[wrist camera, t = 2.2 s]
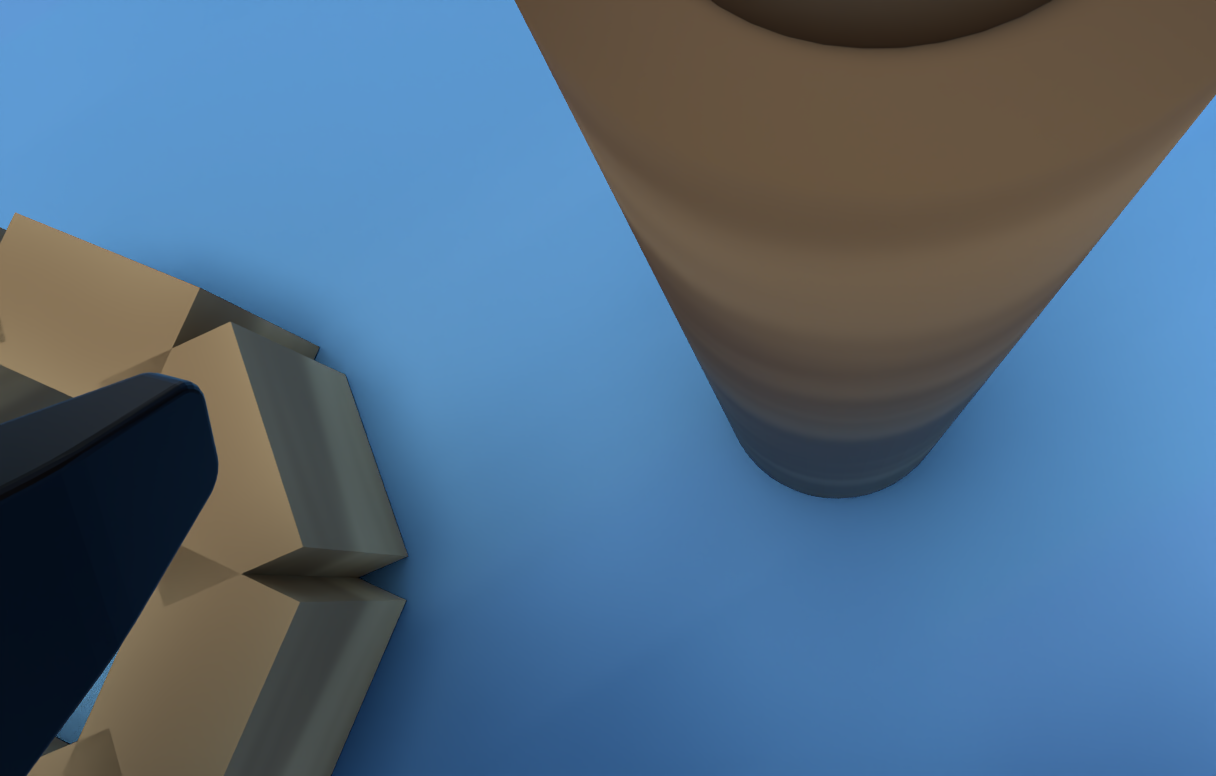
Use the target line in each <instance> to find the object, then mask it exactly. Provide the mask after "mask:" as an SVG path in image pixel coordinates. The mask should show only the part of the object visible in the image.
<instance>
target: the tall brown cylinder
mask: <svg viewBox="0 0 1216 776" xmlns="http://www.w3.org/2000/svg"><path fill="white" fill-rule="evenodd" d="M515 2H516V4H517V6H518V8H519V10H520V12H521V14H522V16H523V18H524V20H525V22H526V24H527V25H528V27H529V29H530V31H531V33H532V35H533V37H534V39H535V41H536V43H537V45H538V47H539V49H540V51H541V53H542V55H543V57H544V59H545V61H546V63H547V65H548V67H549V69H550V71H551V73H552V75H553V77H554V79H555V80H556V82H557V84H558V86H559V88H560V90H561V92H562V94H563V96H564V98H565V100H566V102H567V104H568V106H569V108H570V110H571V112H572V114H573V116H574V118H575V120H576V122H577V124H578V126H579V128H580V130H581V132H582V134H583V136H584V137H585V139H586V141H587V143H588V145H589V147H590V149H591V151H592V153H593V155H594V157H595V159H596V161H597V163H598V165H599V167H600V169H601V171H602V173H603V175H604V177H605V179H606V181H607V183H608V185H609V187H610V189H611V191H612V192H613V194H614V196H615V198H616V200H617V202H618V204H619V206H620V208H621V210H622V212H623V214H624V216H625V218H626V220H627V222H628V224H629V226H630V228H631V230H632V232H633V234H634V236H635V238H636V240H637V242H638V244H639V246H640V248H641V249H642V251H643V253H644V255H645V257H646V259H647V261H648V263H649V265H650V267H651V269H652V271H653V273H654V275H655V277H656V279H657V281H658V283H659V285H660V287H661V289H662V291H663V293H664V295H665V297H666V299H667V301H668V303H669V304H670V306H671V308H672V310H673V312H674V314H675V316H676V318H677V320H678V322H679V324H680V326H681V328H682V330H683V332H684V334H685V336H686V338H687V340H688V342H689V344H690V346H691V348H692V350H693V352H694V354H695V356H696V358H697V359H698V361H699V363H700V365H701V367H702V369H703V371H704V373H705V375H706V377H707V379H708V381H709V383H710V385H711V387H712V389H713V391H714V393H715V395H716V397H717V399H718V401H719V403H720V405H721V407H722V409H723V411H724V413H725V415H726V416H727V418H728V420H729V422H730V424H731V426H732V428H733V430H734V432H735V434H736V436H737V438H738V440H739V442H740V444H741V446H742V447H743V448H744V450H745V451H746V453H747V454H748V456H749V457H750V458H751V459H752V460H753V461H754V462H755V463H756V465H757V466H758V467H759V468H761V469H762V470H763V471H764V472H765V473H767V474H768V475H769V476H770V477H772V478H773V479H775V480H776V481H778V482H780V483H781V484H783V485H785V486H787V487H789V488H791V489H793V490H796V491H799V492H802V493H805V494H808V495H813V496H818V497H823V498H851V497H857V496H862V495H867V494H870V493H873V492H876V491H879V490H882V489H884V488H886V487H888V486H890V485H892V484H894V483H896V482H897V481H899V480H900V479H902V478H903V477H905V476H906V475H907V474H909V473H910V472H911V471H912V470H913V469H914V468H915V467H916V466H918V465H919V463H920V462H921V461H922V460H923V459H924V458H925V456H926V455H927V454H928V453H929V452H930V450H931V449H932V448H933V447H934V445H935V444H936V443H937V442H938V440H939V439H940V438H941V437H942V435H943V434H944V433H945V432H946V430H947V429H948V428H949V427H950V425H951V424H952V423H953V422H954V420H955V419H956V418H957V417H958V415H959V414H960V413H961V412H962V410H963V409H964V408H965V407H966V405H967V404H968V403H969V402H970V400H971V399H972V398H973V397H974V395H975V394H976V393H977V392H978V391H979V389H980V388H981V387H982V386H983V384H984V383H985V382H986V381H987V379H988V378H989V377H990V376H991V374H992V373H993V372H994V371H995V369H996V368H997V367H998V366H999V364H1000V363H1001V362H1002V361H1003V359H1004V358H1005V357H1006V356H1007V354H1008V353H1009V352H1010V351H1011V349H1012V348H1013V347H1014V346H1015V344H1016V343H1017V342H1018V341H1019V339H1020V338H1021V337H1022V336H1023V334H1024V333H1025V332H1026V331H1027V329H1028V328H1029V327H1030V326H1031V324H1032V323H1033V322H1034V321H1035V319H1036V318H1037V317H1038V316H1039V314H1040V313H1041V312H1042V311H1043V309H1044V308H1045V307H1046V306H1047V304H1048V303H1049V302H1050V301H1051V299H1052V298H1053V297H1054V296H1055V294H1056V293H1057V292H1058V291H1059V289H1060V288H1061V287H1062V286H1063V284H1064V283H1065V282H1066V281H1067V280H1068V278H1069V277H1070V276H1071V275H1072V273H1073V272H1074V271H1075V270H1076V268H1077V267H1078V266H1079V265H1080V263H1081V262H1082V261H1083V260H1084V258H1085V257H1086V256H1087V255H1088V253H1089V252H1090V251H1091V250H1092V248H1093V247H1094V246H1095V245H1096V243H1097V242H1098V241H1099V240H1100V238H1101V237H1102V236H1103V235H1104V233H1105V232H1106V231H1107V230H1108V228H1109V227H1110V226H1111V225H1112V223H1113V222H1114V221H1115V220H1116V218H1117V217H1118V216H1119V215H1120V213H1121V212H1122V211H1123V210H1124V208H1125V207H1126V206H1127V205H1128V203H1129V202H1130V201H1131V200H1132V198H1133V197H1134V196H1135V195H1136V193H1137V192H1138V191H1139V190H1140V188H1141V187H1142V186H1143V185H1144V183H1145V182H1146V181H1147V180H1148V178H1149V177H1150V176H1151V175H1152V173H1153V172H1154V171H1155V170H1156V169H1157V167H1158V166H1159V165H1160V164H1161V162H1162V161H1163V160H1164V159H1165V157H1166V156H1167V155H1168V154H1169V152H1170V151H1171V150H1172V149H1173V147H1174V146H1175V145H1176V144H1177V142H1178V141H1179V140H1180V139H1181V137H1182V136H1183V135H1184V134H1185V132H1186V131H1187V130H1188V129H1189V127H1190V126H1191V125H1192V124H1193V122H1194V121H1195V120H1196V119H1197V117H1198V116H1199V115H1200V114H1201V112H1202V111H1203V110H1204V109H1205V107H1206V106H1207V105H1208V104H1209V102H1210V101H1211V100H1212V99H1213V97H1214V96H1215V95H1216V0H515Z"/></svg>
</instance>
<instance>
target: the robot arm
mask: <svg viewBox="0 0 1216 776" xmlns="http://www.w3.org/2000/svg"><path fill="white" fill-rule="evenodd" d="M218 466H219V462H218V455H217V451H216V446H215V442H214V437H213V432H212V428H211V423H210V419H209V414H208V409H207V405H206V400H205V397H204V394H203V392H202V391H201V390H200V388H199V387H198V386H197V385H196V384H194V383H192V382H191V381H187V380H184V379H180V378H176V377H172V376H168V375H164V374H160V373H152V372H148V373H142V374H139V375H136V376H133V377H130V378H128V379H125V380H122V381H119V382H116V383H114V384H111V385H108V386H105V387H102V388H99V389H97V390H94V391H91V392H88V393H85V394H83V395H80V396H77V397H74V398H71V399H69V400H66V401H63V402H60V403H57V404H54V405H52V406H49V407H46V408H43V409H40V410H38V411H35V412H32V413H29V414H26V415H24V416H21V417H18V418H15V419H12V420H9V421H7V422H4V423H1V424H0V776H27V775H28V773H29V772H30V771H31V769H32V768H33V766H34V765H35V764H36V762H37V761H38V760H39V758H40V757H41V756H42V754H43V753H44V751H45V750H46V749H47V747H48V746H49V745H50V743H51V742H52V741H53V739H54V738H55V736H56V735H57V734H58V732H59V731H60V730H61V728H62V727H63V726H64V724H65V723H66V721H67V720H68V719H69V717H70V716H71V715H72V713H73V712H74V711H75V709H76V708H77V707H78V705H79V704H80V702H81V701H82V700H83V698H84V697H85V696H86V694H87V693H88V692H89V690H90V689H91V687H92V686H93V685H94V683H95V682H96V681H97V679H98V678H99V677H100V675H101V674H102V672H103V671H104V670H105V668H106V667H107V665H108V664H109V662H110V661H111V659H112V658H113V657H114V655H115V654H116V652H117V651H118V649H119V648H120V646H121V645H122V643H123V642H124V640H125V638H126V637H127V635H128V634H129V632H130V631H131V629H132V627H133V626H134V624H135V623H136V621H137V619H138V618H139V616H140V614H141V612H142V611H143V609H144V607H145V606H146V604H147V602H148V601H149V599H150V597H151V595H152V594H153V592H154V590H155V589H156V587H157V585H158V584H159V582H160V580H161V578H162V577H163V575H164V573H165V572H166V570H167V568H168V567H169V565H170V563H171V561H172V560H173V558H174V556H175V555H176V553H177V551H178V549H179V548H180V546H181V544H182V543H183V541H184V539H185V538H186V536H187V534H188V532H189V531H190V529H191V527H192V526H193V524H194V522H195V521H196V519H197V517H198V515H199V514H200V512H201V510H202V509H203V507H204V505H205V503H206V502H207V500H208V498H209V497H210V495H211V493H212V491H213V489H214V486H215V483H216V480H217V476H218Z"/></svg>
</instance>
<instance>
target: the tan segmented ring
mask: <svg viewBox="0 0 1216 776" xmlns="http://www.w3.org/2000/svg"><path fill="white" fill-rule="evenodd" d="M318 349H319V346H317V345H315V344H313V343H311V342H309V341H307V340H305V339H303V338H301V337H299V336H297V335H294V334H292V333H290V332H288V331H286V330H284V329H282V328H280V327H278V326H276V325H274V324H272V323H270V322H268V321H266V320H264V319H262V318H260V317H258V316H256V315H254V314H252V313H250V312H248V311H246V310H244V309H242V308H240V307H238V306H236V305H234V304H232V303H230V302H228V301H226V300H224V299H222V298H220V297H218V296H216V295H214V294H212V293H210V292H208V291H206V290H204V289H202V288H199V287H197V286H195V285H192V284H190V283H187V282H185V281H182V280H180V279H177V278H175V277H172V276H170V275H167V274H165V273H163V272H160V271H158V270H155V269H153V268H150V267H148V266H145V265H143V264H140V263H138V262H136V261H133V260H131V259H128V258H126V257H123V256H121V255H118V254H116V253H113V252H111V251H108V250H106V249H104V248H101V247H99V246H96V245H94V244H91V243H89V242H86V241H84V240H81V239H79V238H77V237H74V236H72V235H69V234H67V233H64V232H62V231H59V230H57V229H54V228H52V227H49V226H47V225H45V224H42V223H40V222H37V221H35V220H32V219H30V218H27V217H25V216H22V215H20V214H18V213H15V214H14V216H13V218H12V220H11V222H10V224H9V226H8V228H7V230H5V229H2V228H0V424H1V423H4V422H7V421H9V420H12V419H15V418H18V417H21V416H24V415H26V414H29V413H32V412H35V411H38V410H40V409H43V408H46V407H49V406H52V405H54V404H57V403H60V402H63V401H66V400H69V399H71V398H74V397H77V396H80V395H83V394H85V393H88V392H91V391H94V390H97V389H99V388H102V387H105V386H108V385H111V384H114V383H116V382H119V381H122V380H125V379H128V378H130V377H133V376H136V375H139V374H142V373H148V372H152V373H160V374H164V375H168V376H172V377H176V378H180V379H184V380H187V381H191V382H192V383H194V384H196V385H197V386H198V387H199V388H200V390H201V391H202V392H203V394H204V397H205V400H206V405H207V409H208V414H209V419H210V423H211V428H212V432H213V437H214V442H215V446H216V451H217V455H218V462H219V466H218V476H217V480H216V483H215V486H214V489H213V491H212V493H211V495H210V497H209V498H208V500H207V502H206V503H205V505H204V507H203V509H202V510H201V512H200V514H199V515H198V517H197V519H196V521H195V522H194V524H193V526H192V527H191V529H190V531H189V532H188V534H187V536H186V538H185V539H184V541H183V543H182V544H181V546H180V548H179V549H178V551H177V553H176V555H175V556H174V558H173V560H172V561H171V563H170V565H169V567H168V568H167V570H166V572H165V573H164V575H163V577H162V578H161V580H160V582H159V584H158V585H157V587H156V589H155V590H154V592H153V594H152V595H151V597H150V599H149V601H148V602H147V604H146V606H145V607H144V609H143V611H142V612H141V614H140V616H139V618H138V619H137V621H136V623H135V624H134V626H133V627H132V629H131V631H130V632H129V634H128V635H127V637H126V638H125V640H124V642H123V643H122V645H121V647H120V649H119V651H118V653H117V656H116V658H115V660H114V662H113V664H112V666H111V669H110V671H109V673H108V675H107V677H106V680H105V682H104V684H103V686H102V688H101V691H100V693H99V695H98V697H97V699H96V702H95V704H94V706H93V708H92V710H91V713H90V715H89V717H88V719H87V721H86V724H85V726H84V728H83V730H82V732H81V735H80V737H79V739H78V741H77V742H74V743H72V744H70V745H69V744H67V743H66V742H64V741H62V740H60V739H58V738H56V737H55V738H54V739H53V741H52V742H51V743H50V745H49V746H48V747H47V749H46V750H45V751H44V753H43V754H42V756H41V757H40V758H39V760H38V761H37V762H36V764H35V765H34V766H33V768H32V769H31V771H30V772H29V773H28V775H27V776H331V774H332V772H333V770H334V767H335V765H336V763H337V760H338V758H339V756H340V753H341V751H342V749H343V746H344V744H345V742H346V739H347V737H348V735H349V732H350V730H351V728H352V725H353V723H354V721H355V718H356V716H357V714H358V711H359V709H360V707H361V704H362V702H363V700H364V697H365V695H366V693H367V691H368V688H369V686H370V684H371V681H372V679H373V677H374V674H375V672H376V670H377V667H378V665H379V663H380V660H381V658H382V656H383V653H384V651H385V649H386V646H387V644H388V642H389V639H390V637H391V635H392V632H393V630H394V628H395V625H396V623H397V621H398V618H399V616H400V614H401V611H402V609H403V607H404V604H405V602H406V600H405V599H403V598H400V597H398V596H396V595H394V594H392V593H390V592H387V591H385V590H383V589H381V588H379V587H377V586H375V585H372V584H370V583H368V582H366V581H364V580H362V579H359V577H361V576H363V575H366V574H368V573H370V572H373V571H375V570H377V569H379V568H382V567H384V566H386V565H389V564H391V563H393V562H396V561H398V560H400V559H403V558H405V557H407V556H408V554H407V552H406V549H405V546H404V543H403V540H402V537H401V534H400V531H399V528H398V526H397V523H396V520H395V517H394V514H393V511H392V508H391V505H390V502H389V500H388V497H387V494H386V491H385V488H384V485H383V482H382V479H381V476H380V474H379V471H378V468H377V465H376V462H375V459H374V456H373V453H372V451H371V448H370V445H369V442H368V439H367V436H366V433H365V430H364V427H363V425H362V422H361V419H360V416H359V413H358V410H357V407H356V404H355V401H354V399H353V396H352V393H351V390H350V387H349V384H348V381H347V378H346V375H345V374H343V373H341V372H338V371H336V370H334V369H332V368H330V367H328V366H326V365H323V364H321V363H319V362H317V361H315V360H314V358H315V356H316V354H317V352H318Z"/></svg>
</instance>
